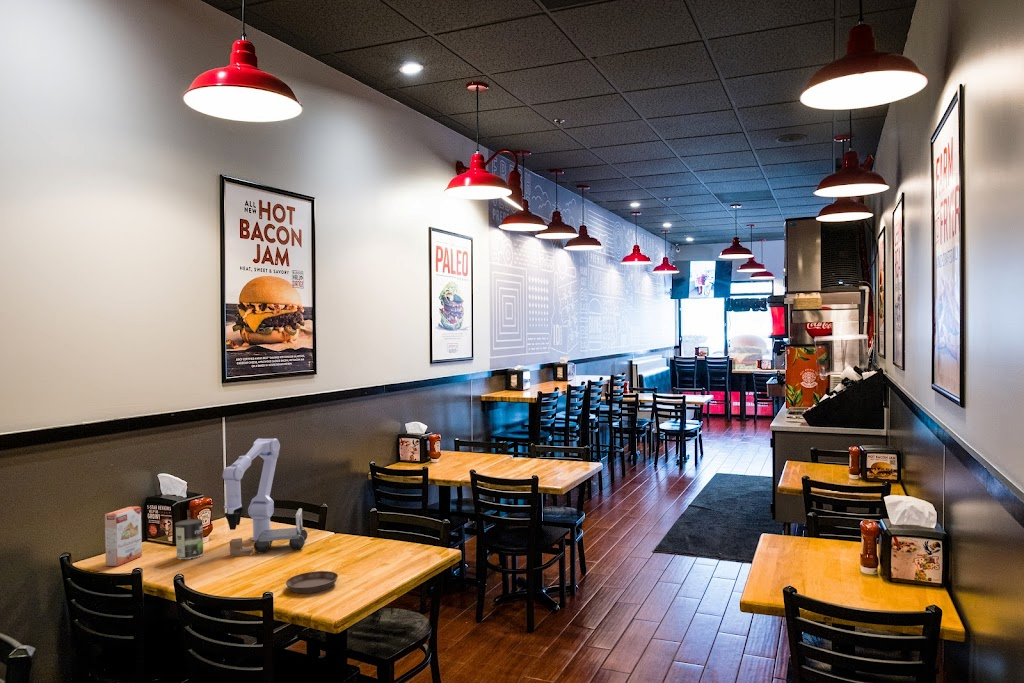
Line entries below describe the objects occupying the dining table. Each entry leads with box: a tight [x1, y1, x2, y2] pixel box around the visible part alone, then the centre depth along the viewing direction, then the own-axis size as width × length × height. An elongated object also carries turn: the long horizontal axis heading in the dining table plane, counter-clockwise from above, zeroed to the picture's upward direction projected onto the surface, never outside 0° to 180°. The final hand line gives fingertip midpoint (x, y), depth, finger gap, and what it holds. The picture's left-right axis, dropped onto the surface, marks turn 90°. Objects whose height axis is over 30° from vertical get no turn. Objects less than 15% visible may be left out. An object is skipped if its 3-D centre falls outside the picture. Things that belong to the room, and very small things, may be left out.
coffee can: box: [174, 518, 205, 560], centre depth 294 cm, size 10×10×14 cm
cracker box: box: [104, 506, 143, 567], centre depth 290 cm, size 14×6×21 cm, turn 168°
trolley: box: [253, 507, 308, 554], centre depth 302 cm, size 13×20×15 cm, turn 100°
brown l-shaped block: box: [229, 537, 254, 557], centre depth 294 cm, size 4×8×6 cm, turn 100°
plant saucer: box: [285, 570, 339, 594], centre depth 250 cm, size 18×18×3 cm
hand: (234, 527), depth 301 cm, fingers open, 7 cm apart
